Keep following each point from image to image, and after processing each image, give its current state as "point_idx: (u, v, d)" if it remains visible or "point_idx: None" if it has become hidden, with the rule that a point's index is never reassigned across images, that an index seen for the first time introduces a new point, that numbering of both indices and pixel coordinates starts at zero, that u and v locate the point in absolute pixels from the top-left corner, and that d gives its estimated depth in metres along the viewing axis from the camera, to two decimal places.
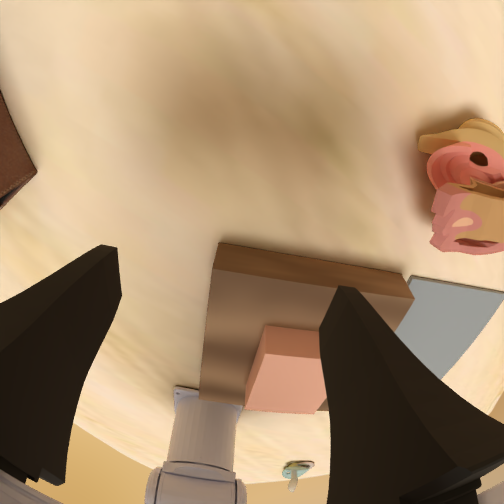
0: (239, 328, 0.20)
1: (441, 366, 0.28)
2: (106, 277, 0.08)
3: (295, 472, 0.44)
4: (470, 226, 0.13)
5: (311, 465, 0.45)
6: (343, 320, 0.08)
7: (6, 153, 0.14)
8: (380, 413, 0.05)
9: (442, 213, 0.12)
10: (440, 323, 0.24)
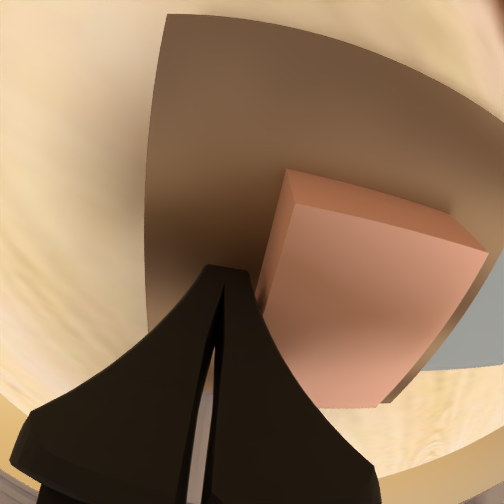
0: (222, 179, 0.08)
1: None
2: None
3: None
4: None
5: None
6: (221, 303, 0.08)
7: None
8: (214, 406, 0.05)
9: None
10: None
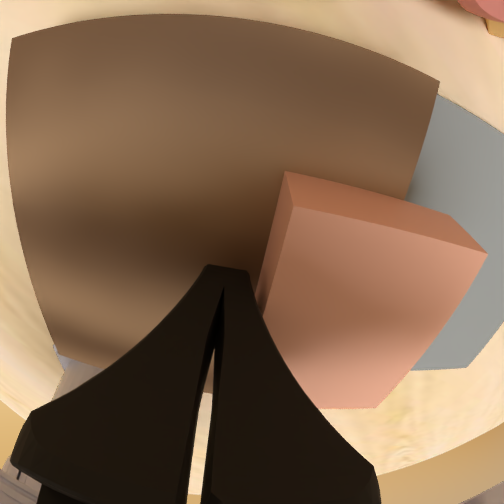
0: (49, 160, 0.08)
1: (484, 325, 0.15)
2: None
3: None
4: None
5: None
6: (221, 303, 0.08)
7: None
8: (214, 406, 0.05)
9: None
10: (489, 222, 0.11)
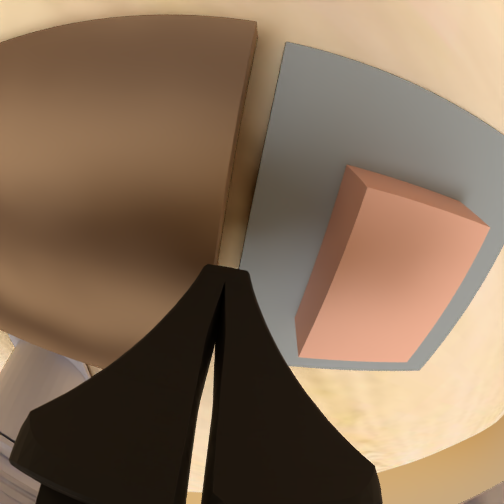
0: None
1: None
2: None
3: None
4: None
5: None
6: (222, 303, 0.08)
7: None
8: (215, 406, 0.05)
9: None
10: None
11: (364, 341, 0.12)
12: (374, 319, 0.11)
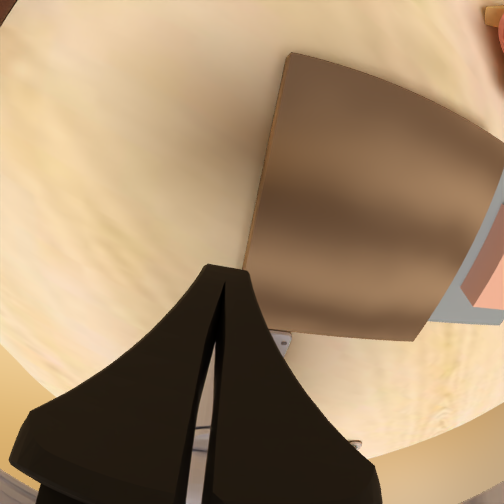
0: (319, 158, 0.13)
1: None
2: None
3: None
4: None
5: (358, 446, 0.38)
6: (222, 303, 0.08)
7: None
8: (215, 406, 0.05)
9: None
10: None
11: (499, 295, 0.18)
12: None
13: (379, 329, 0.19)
